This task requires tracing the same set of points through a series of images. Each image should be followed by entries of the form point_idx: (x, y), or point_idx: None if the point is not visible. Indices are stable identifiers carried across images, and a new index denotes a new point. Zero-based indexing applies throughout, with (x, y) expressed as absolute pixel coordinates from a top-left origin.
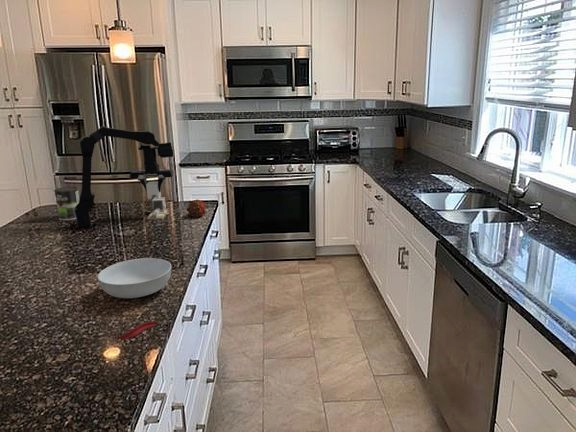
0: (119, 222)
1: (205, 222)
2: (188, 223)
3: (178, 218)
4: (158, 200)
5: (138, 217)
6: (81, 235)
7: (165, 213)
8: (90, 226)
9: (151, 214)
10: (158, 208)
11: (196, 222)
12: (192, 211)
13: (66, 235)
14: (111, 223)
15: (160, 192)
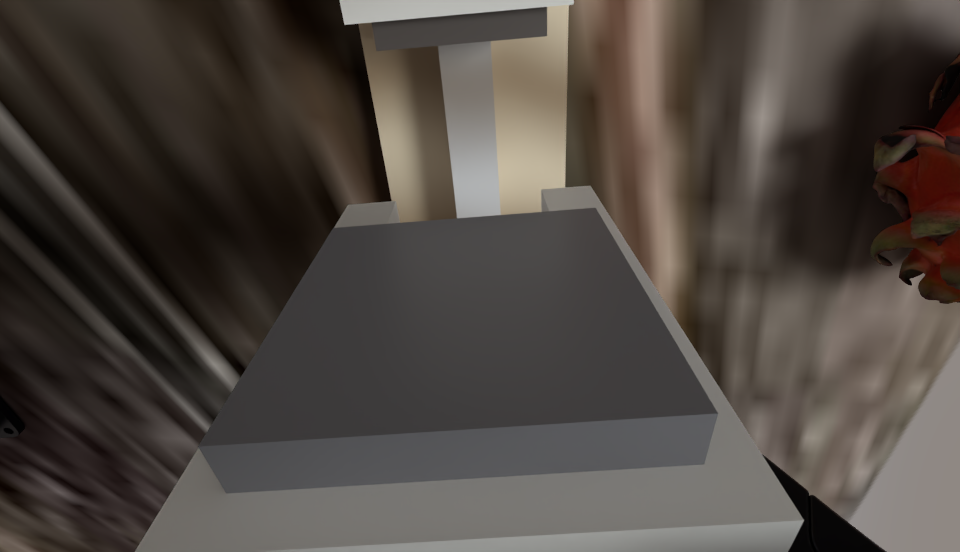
0: (167, 313)
1: (928, 366)
2: (789, 379)
3: (717, 236)
4: (478, 13)
5: (257, 155)
6: (121, 530)
7: (565, 67)
8: (11, 415)
9: (401, 138)
10: (472, 46)
11: (858, 361)
12: (924, 271)
13: (21, 527)
14: (112, 335)
15: (612, 231)
